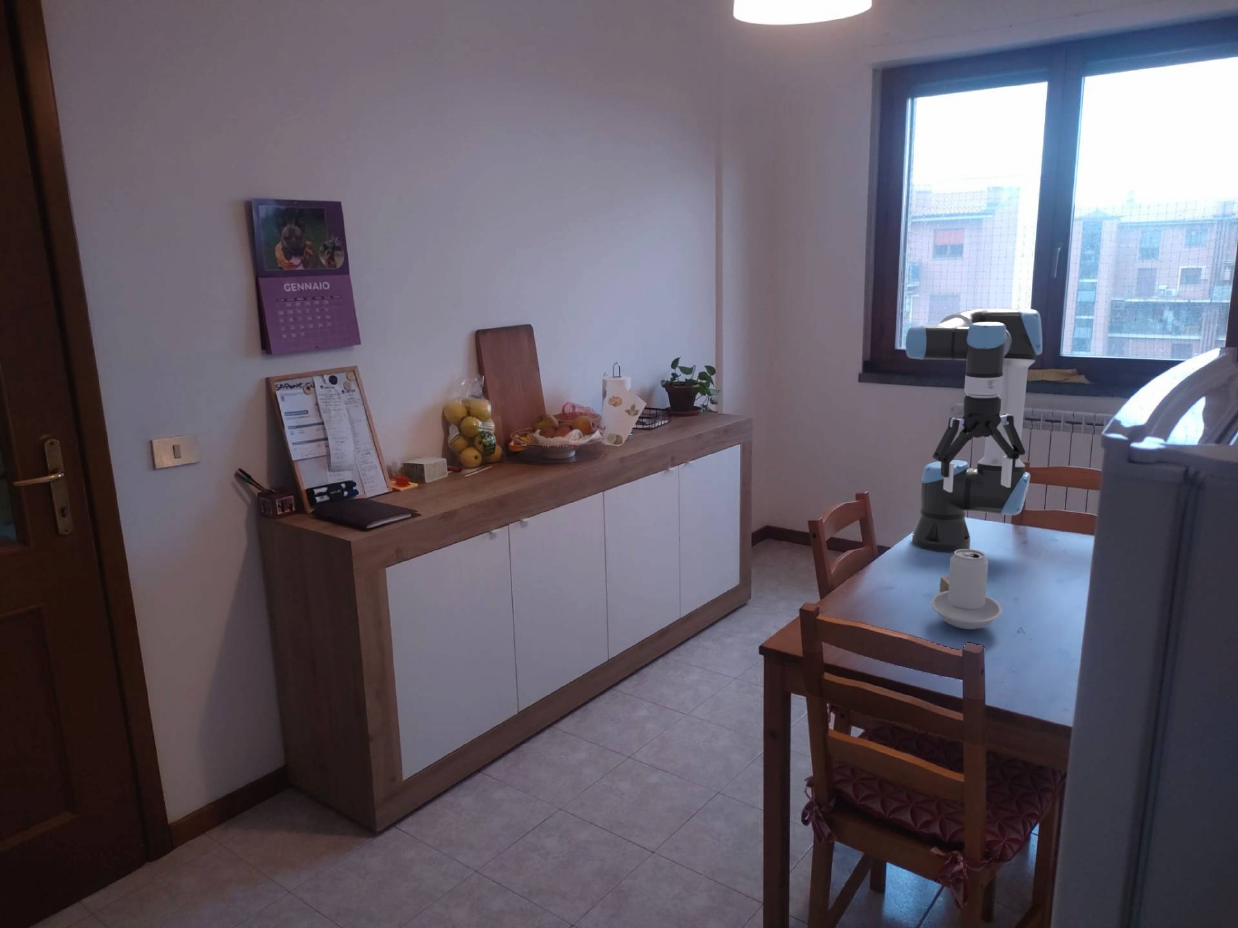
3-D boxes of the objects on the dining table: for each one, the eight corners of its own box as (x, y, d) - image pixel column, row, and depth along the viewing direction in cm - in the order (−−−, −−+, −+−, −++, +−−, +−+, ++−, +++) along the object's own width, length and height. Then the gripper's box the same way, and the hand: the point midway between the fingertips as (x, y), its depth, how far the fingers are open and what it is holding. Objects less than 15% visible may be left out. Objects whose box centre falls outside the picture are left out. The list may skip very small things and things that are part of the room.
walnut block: (964, 591, 206) (965, 575, 205) (973, 599, 201) (974, 583, 200) (939, 592, 206) (940, 577, 205) (948, 600, 201) (949, 584, 200)
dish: (1003, 647, 176) (1005, 625, 175) (929, 639, 181) (930, 617, 180) (998, 614, 192) (999, 593, 191) (929, 607, 197) (931, 587, 196)
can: (988, 613, 181) (992, 559, 178) (950, 611, 182) (954, 557, 179) (981, 599, 188) (984, 547, 185) (944, 597, 189) (948, 546, 186)
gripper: (936, 401, 182) (931, 497, 187) (1047, 393, 184) (1039, 488, 190) (920, 395, 189) (915, 487, 194) (1027, 388, 191) (1020, 479, 197)
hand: (976, 488), depth 192 cm, fingers open, 13 cm apart
